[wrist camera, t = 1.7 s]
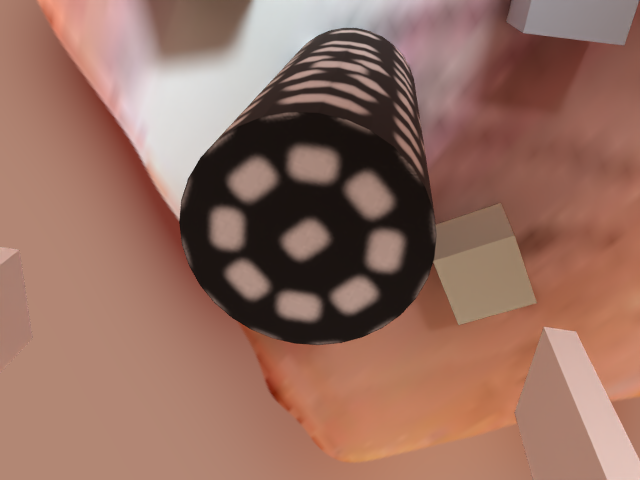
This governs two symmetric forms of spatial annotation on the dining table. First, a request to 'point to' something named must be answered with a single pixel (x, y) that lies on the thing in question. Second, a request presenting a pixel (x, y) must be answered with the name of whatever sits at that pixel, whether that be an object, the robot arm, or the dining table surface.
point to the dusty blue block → (575, 19)
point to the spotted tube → (317, 197)
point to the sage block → (481, 265)
